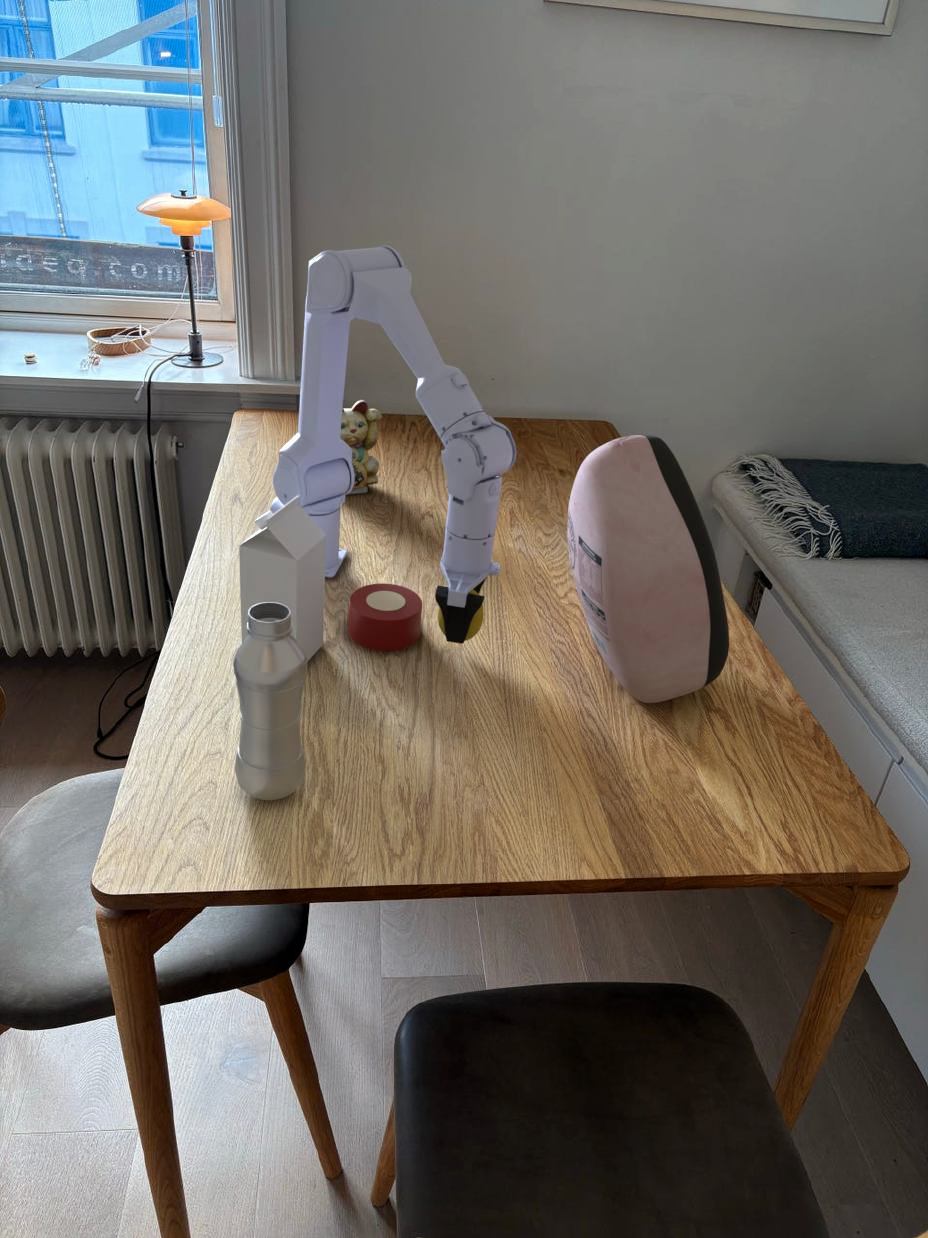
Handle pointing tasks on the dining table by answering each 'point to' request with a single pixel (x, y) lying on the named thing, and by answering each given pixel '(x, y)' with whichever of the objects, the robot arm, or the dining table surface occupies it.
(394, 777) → the dining table surface
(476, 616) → the lemon
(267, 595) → the milk carton
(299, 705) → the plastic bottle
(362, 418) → the decorative figurine
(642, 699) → the pink backpack
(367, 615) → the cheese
